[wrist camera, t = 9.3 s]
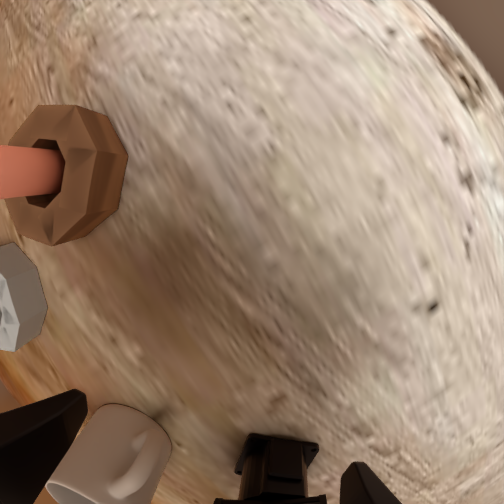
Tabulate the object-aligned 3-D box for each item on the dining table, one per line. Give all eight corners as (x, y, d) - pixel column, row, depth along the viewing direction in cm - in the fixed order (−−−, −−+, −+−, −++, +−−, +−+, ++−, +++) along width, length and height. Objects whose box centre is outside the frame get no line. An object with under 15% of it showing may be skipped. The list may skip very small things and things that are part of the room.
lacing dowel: (87, 195, 19) (-6, 205, 11) (59, 188, 19) (-30, 196, 11) (94, 155, 19) (2, 145, 10) (65, 151, 19) (-23, 143, 10)
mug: (145, 467, 25) (112, 539, 14) (85, 420, 24) (35, 486, 14) (212, 431, 23) (184, 532, 12) (136, 371, 22) (70, 462, 11)
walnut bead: (113, 244, 20) (81, 257, 16) (31, 219, 20) (-1, 226, 16) (137, 119, 18) (108, 106, 14) (49, 113, 18) (17, 106, 14)
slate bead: (56, 334, 22) (30, 354, 18) (6, 332, 23) (-17, 346, 19) (30, 237, 20) (-2, 246, 17) (-16, 251, 21) (-43, 260, 18)
